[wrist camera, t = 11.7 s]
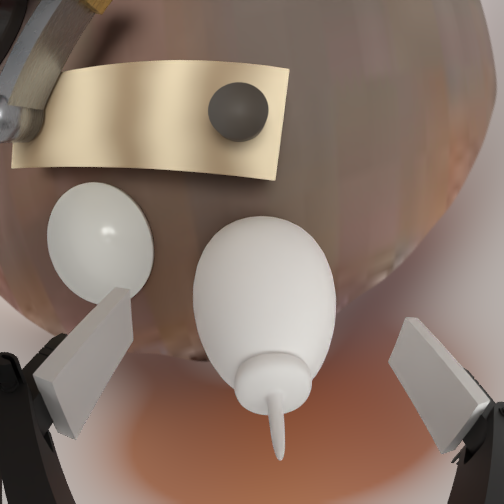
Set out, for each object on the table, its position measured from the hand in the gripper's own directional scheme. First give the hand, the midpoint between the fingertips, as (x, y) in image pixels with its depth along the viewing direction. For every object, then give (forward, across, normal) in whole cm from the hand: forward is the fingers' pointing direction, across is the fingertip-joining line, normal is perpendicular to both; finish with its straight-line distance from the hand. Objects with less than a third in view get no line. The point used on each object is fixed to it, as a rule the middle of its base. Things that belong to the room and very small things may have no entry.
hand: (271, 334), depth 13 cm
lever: (+6, -16, +15) cm, 23 cm away
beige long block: (+11, -10, +10) cm, 18 cm away
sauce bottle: (+11, 0, 0) cm, 11 cm away
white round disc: (+11, -14, -1) cm, 18 cm away
